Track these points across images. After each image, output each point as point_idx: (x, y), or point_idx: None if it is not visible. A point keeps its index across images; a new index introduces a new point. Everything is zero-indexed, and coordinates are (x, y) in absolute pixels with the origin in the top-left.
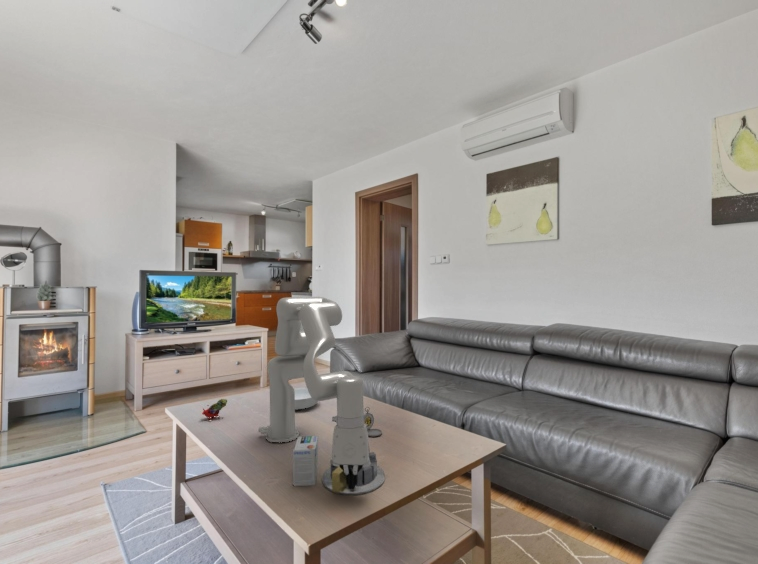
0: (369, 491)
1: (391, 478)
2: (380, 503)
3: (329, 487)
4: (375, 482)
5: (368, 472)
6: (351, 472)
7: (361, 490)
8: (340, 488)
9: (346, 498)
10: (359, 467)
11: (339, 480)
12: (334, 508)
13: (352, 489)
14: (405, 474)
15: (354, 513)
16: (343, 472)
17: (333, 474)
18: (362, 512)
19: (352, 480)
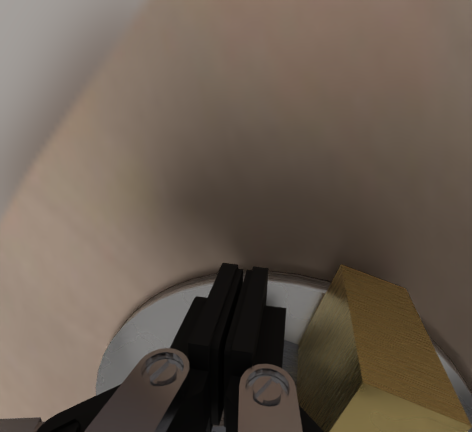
0: (154, 297)
1: (80, 401)
2: (69, 183)
3: None
4: (129, 365)
5: None
6: (225, 401)
7: (192, 293)
8: (337, 289)
9: (288, 237)
10: (83, 426)
11: (353, 327)
12: (366, 108)
13: None
14: None
15: (203, 51)
16: (319, 423)
17: (442, 398)
18: (151, 71)
19: (213, 306)
